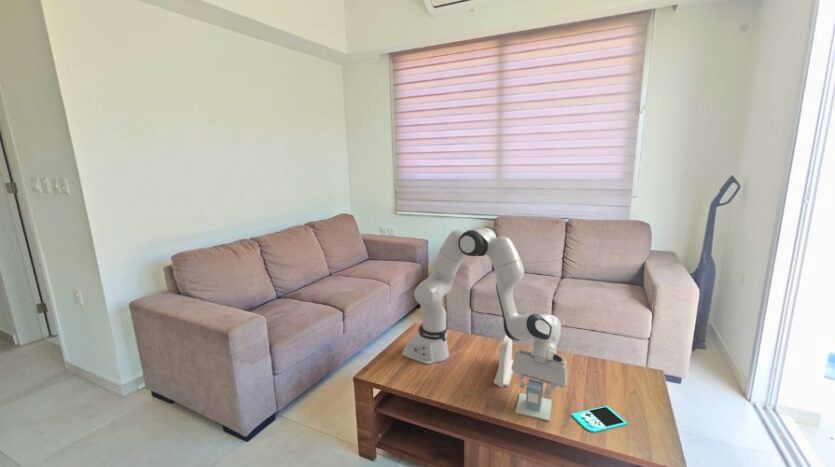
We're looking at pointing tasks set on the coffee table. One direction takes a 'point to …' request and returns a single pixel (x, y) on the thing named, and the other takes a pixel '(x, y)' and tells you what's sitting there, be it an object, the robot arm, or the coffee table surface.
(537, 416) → the sage mat
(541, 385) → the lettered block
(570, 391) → the coffee table surface
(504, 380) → the screen
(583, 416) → the handheld game console
